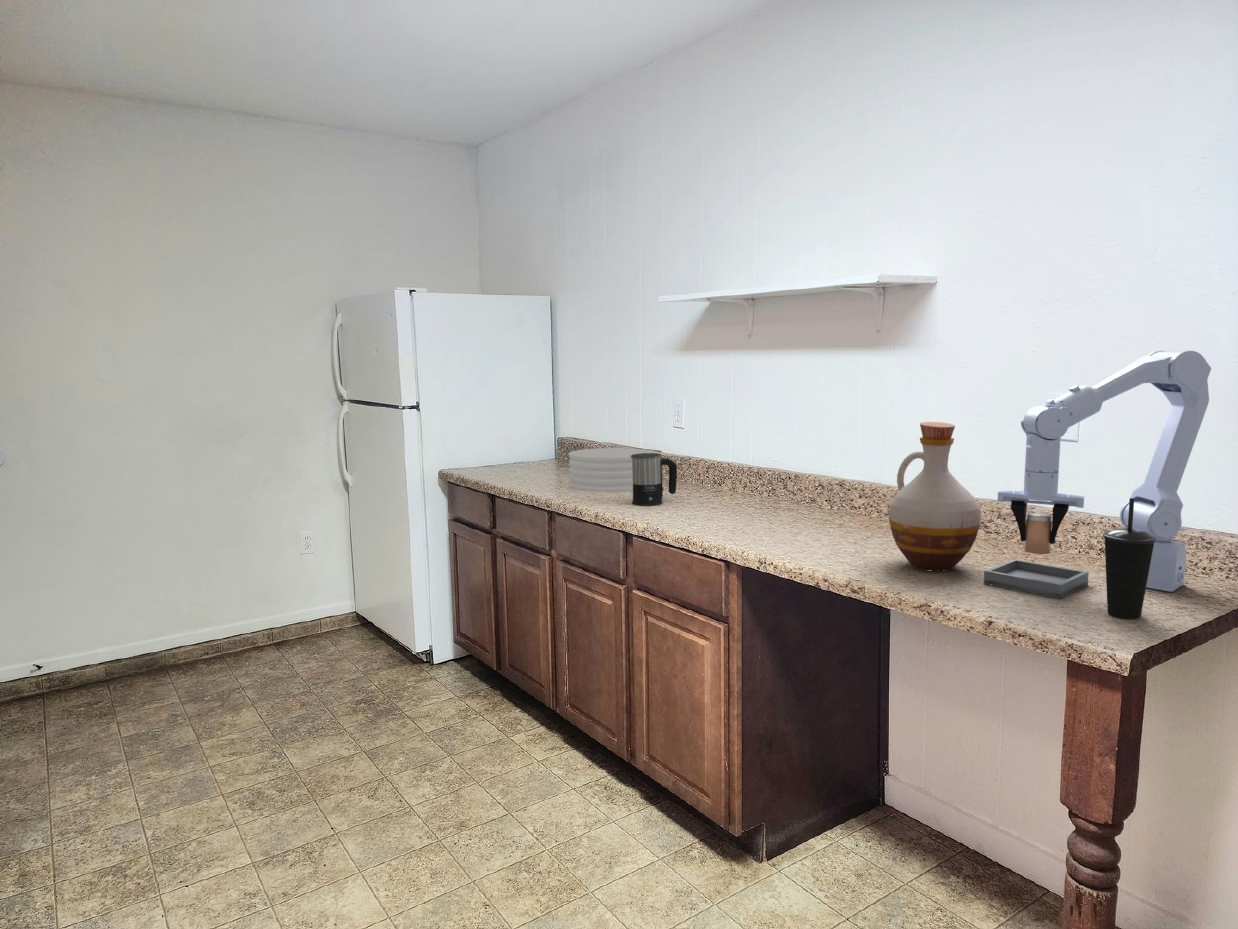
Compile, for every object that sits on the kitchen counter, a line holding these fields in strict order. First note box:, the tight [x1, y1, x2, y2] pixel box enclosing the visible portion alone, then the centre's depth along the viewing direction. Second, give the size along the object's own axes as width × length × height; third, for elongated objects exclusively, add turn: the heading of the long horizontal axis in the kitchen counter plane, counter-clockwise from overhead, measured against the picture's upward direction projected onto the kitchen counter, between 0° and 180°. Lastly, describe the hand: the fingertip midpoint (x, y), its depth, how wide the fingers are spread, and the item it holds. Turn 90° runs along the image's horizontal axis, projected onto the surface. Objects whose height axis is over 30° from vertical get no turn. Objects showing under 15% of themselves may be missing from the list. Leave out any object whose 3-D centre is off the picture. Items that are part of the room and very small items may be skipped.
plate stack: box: [568, 447, 652, 493], centre depth 285 cm, size 28×28×12 cm
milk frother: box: [631, 452, 678, 507], centre depth 254 cm, size 14×16×15 cm
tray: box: [983, 558, 1089, 599], centre depth 160 cm, size 14×13×2 cm
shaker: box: [1023, 513, 1052, 555], centre depth 159 cm, size 4×4×7 cm
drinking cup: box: [1102, 497, 1156, 620], centre depth 140 cm, size 8×8×20 cm
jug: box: [888, 421, 982, 572], centre depth 173 cm, size 20×18×30 cm
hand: (1037, 541), depth 159 cm, fingers closed on shaker, 4 cm apart
